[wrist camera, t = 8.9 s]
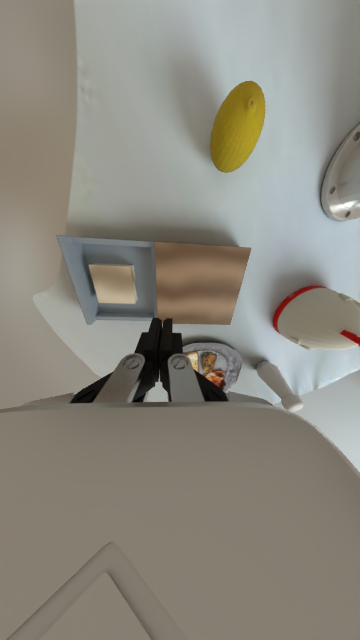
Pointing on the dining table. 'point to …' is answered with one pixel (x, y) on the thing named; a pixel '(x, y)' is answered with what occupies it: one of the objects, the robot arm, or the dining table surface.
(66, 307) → the dining table surface
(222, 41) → the dining table surface
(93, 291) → the box
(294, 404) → the salt shaker
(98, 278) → the tile
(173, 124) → the dining table surface
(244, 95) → the lemon
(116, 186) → the dining table surface
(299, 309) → the kitchen timer
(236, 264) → the wooden square board
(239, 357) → the food plate
